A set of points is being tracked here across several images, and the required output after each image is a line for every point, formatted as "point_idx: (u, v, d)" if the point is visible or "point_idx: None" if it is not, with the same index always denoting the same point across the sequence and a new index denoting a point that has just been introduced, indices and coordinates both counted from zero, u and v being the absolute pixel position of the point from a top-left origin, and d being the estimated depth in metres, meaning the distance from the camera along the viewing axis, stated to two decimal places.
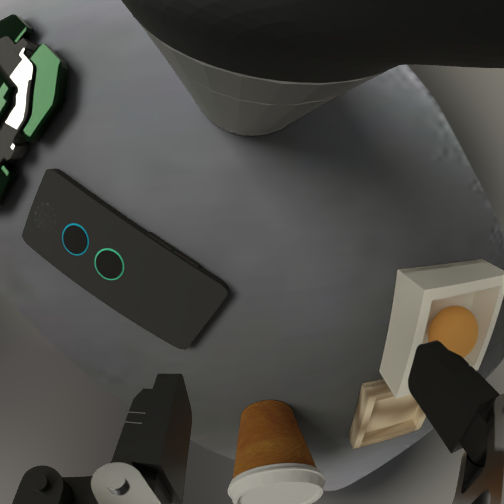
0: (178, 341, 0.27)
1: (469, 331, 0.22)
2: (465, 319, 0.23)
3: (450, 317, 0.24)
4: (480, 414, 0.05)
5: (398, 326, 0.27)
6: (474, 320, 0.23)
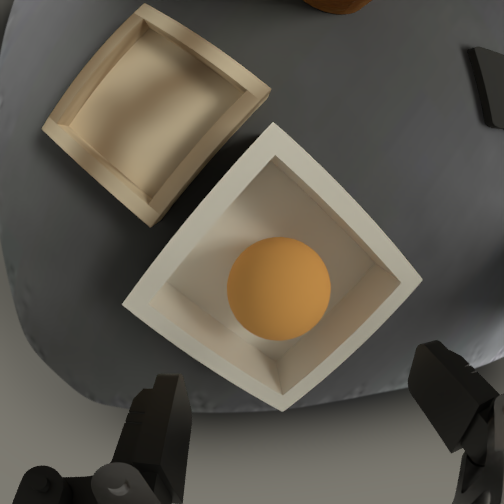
0: (482, 53, 0.16)
1: (310, 323, 0.15)
2: None
3: None
4: (480, 414, 0.05)
5: None
6: (295, 337, 0.16)
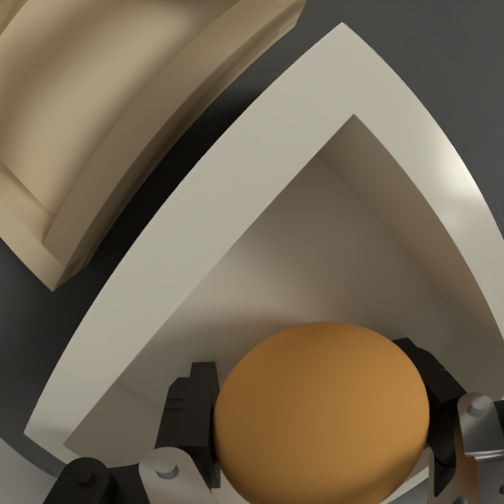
0: None
1: None
2: None
3: None
4: (444, 413, 0.06)
5: None
6: None
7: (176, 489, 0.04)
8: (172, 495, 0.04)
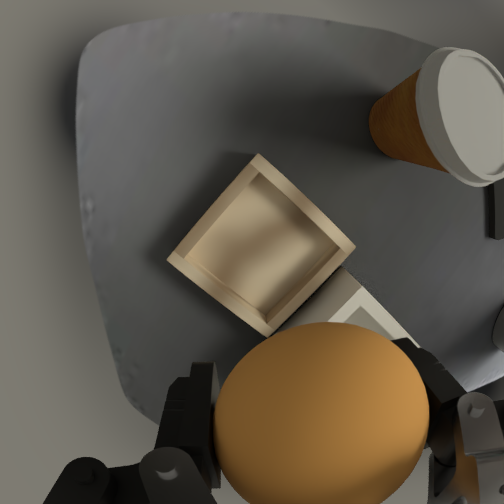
0: None
1: None
2: None
3: None
4: (444, 413, 0.06)
5: None
6: None
7: (176, 488, 0.04)
8: (172, 495, 0.04)
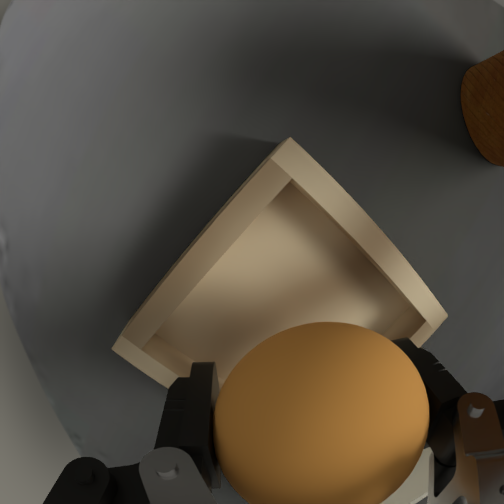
0: None
1: None
2: None
3: None
4: (444, 413, 0.06)
5: None
6: None
7: (177, 489, 0.04)
8: (172, 495, 0.04)
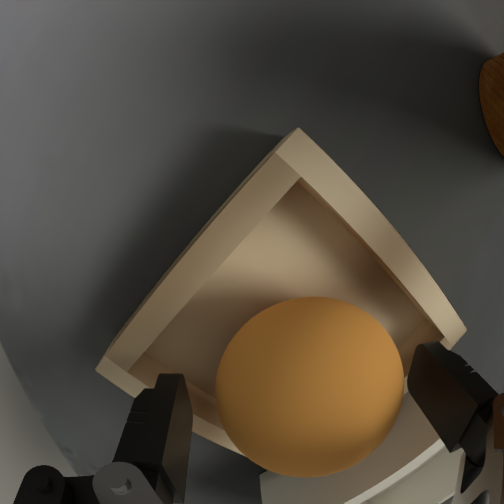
0: None
1: None
2: None
3: None
4: (479, 414, 0.05)
5: None
6: None
7: (131, 503, 0.04)
8: None
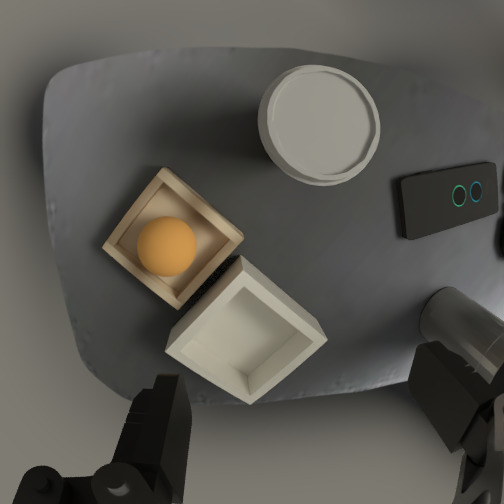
0: (408, 183, 0.32)
1: (176, 264, 0.27)
2: (186, 266, 0.28)
3: (195, 252, 0.29)
4: (480, 414, 0.05)
5: (290, 301, 0.34)
6: (173, 274, 0.28)
7: None
8: None
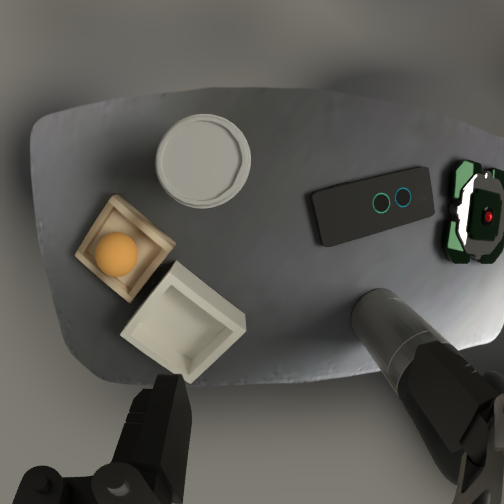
0: (319, 196, 0.39)
1: (119, 267, 0.35)
2: (127, 269, 0.36)
3: (135, 258, 0.37)
4: (480, 414, 0.05)
5: (216, 298, 0.41)
6: (119, 275, 0.36)
7: None
8: None
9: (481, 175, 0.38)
